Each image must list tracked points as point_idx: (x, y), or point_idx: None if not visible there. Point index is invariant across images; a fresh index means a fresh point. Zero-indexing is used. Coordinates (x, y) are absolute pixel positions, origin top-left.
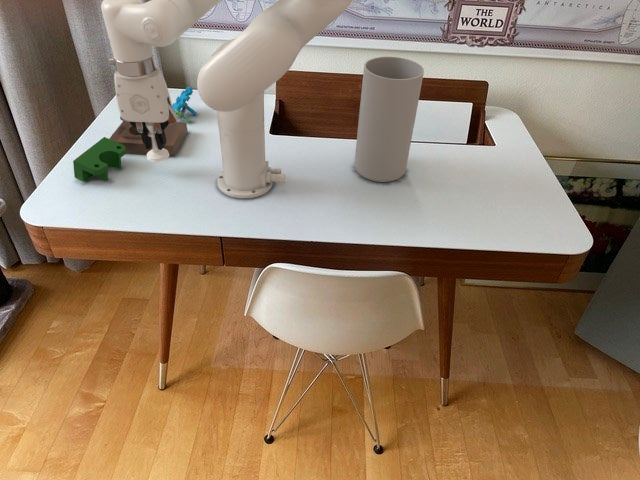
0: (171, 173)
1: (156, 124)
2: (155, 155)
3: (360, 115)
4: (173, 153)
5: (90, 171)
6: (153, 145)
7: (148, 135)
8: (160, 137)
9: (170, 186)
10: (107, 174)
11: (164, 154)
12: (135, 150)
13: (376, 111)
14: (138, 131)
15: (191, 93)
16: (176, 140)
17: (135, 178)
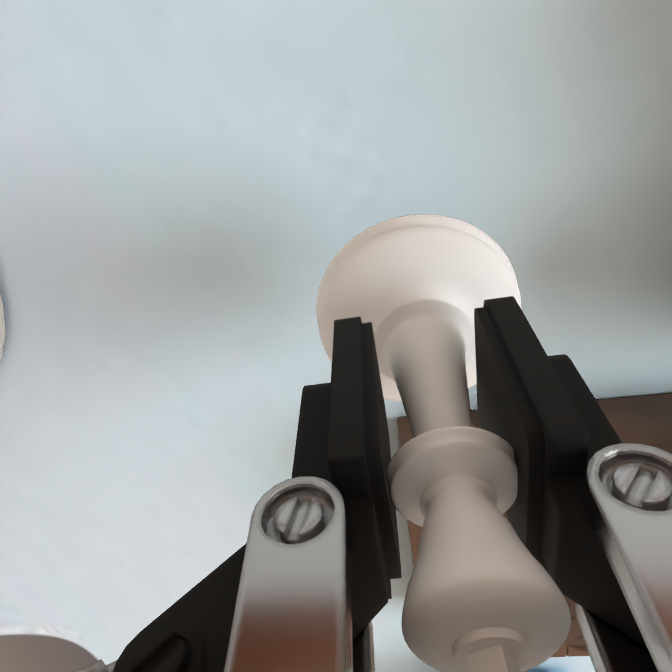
0: (332, 250)
1: (304, 639)
2: (410, 275)
3: None
4: (402, 432)
5: None
6: (439, 358)
7: (500, 443)
8: (326, 442)
9: (255, 85)
10: None
11: (338, 316)
12: (670, 411)
13: None
14: (668, 461)
15: None
16: (408, 527)
17: (578, 113)
